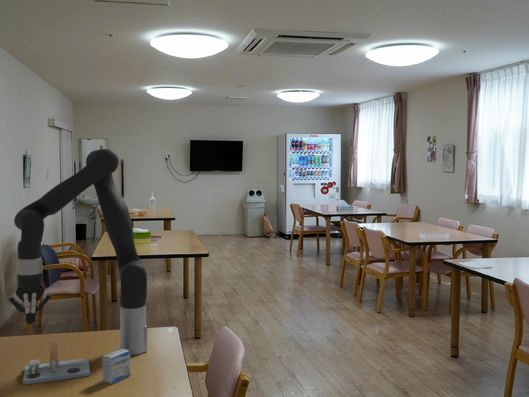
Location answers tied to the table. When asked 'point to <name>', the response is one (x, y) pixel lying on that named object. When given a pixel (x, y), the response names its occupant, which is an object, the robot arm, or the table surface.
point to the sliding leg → (53, 354)
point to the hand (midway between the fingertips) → (30, 323)
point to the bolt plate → (58, 371)
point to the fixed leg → (34, 365)
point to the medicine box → (116, 366)
